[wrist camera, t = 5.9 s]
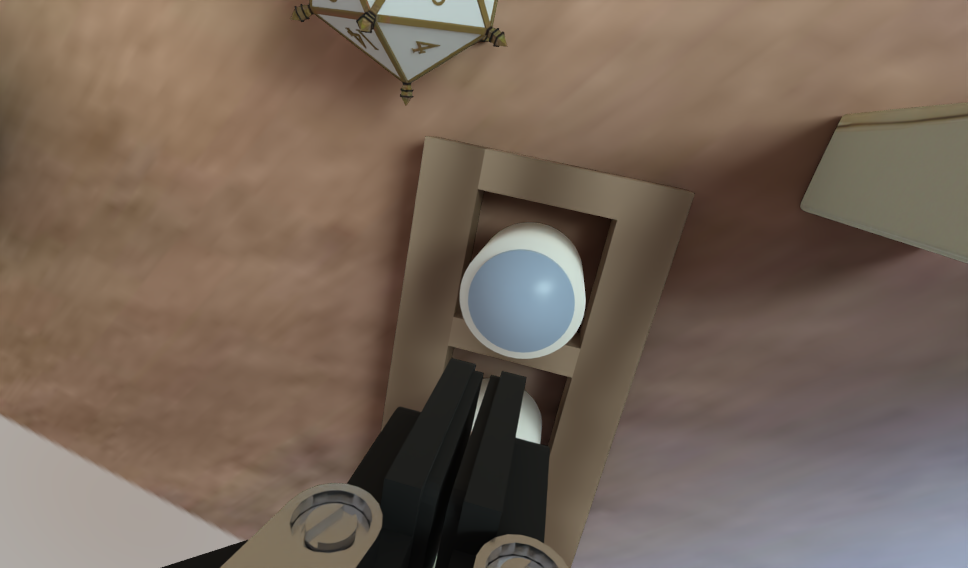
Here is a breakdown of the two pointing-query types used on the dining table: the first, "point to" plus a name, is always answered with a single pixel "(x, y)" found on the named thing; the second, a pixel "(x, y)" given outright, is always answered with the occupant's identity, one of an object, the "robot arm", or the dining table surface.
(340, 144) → the dining table surface
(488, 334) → the small jar
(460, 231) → the rack with square compartments
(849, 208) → the skincare box
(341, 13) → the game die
